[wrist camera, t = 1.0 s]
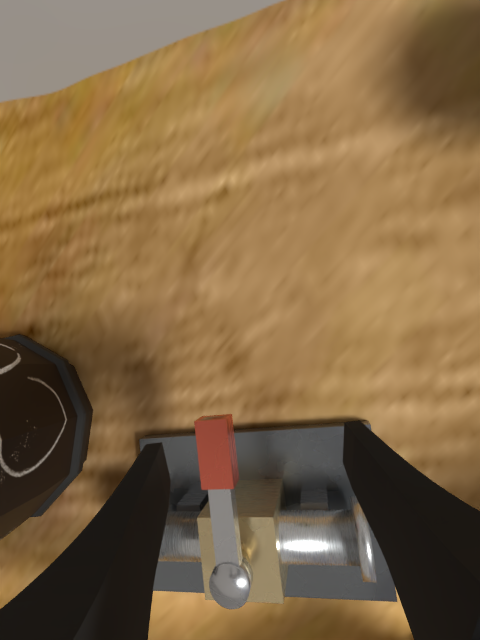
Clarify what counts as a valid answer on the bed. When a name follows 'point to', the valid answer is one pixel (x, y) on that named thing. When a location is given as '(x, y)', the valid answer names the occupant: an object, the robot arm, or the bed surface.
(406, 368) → the bed surface
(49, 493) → the black drum container
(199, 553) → the valve assembly
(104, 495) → the bed surface
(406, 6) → the bed surface
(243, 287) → the bed surface
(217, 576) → the valve lever
